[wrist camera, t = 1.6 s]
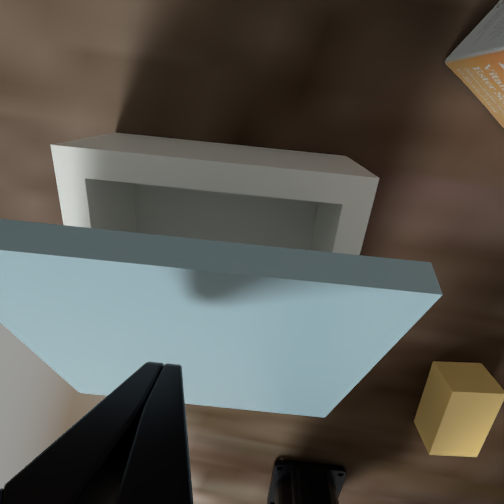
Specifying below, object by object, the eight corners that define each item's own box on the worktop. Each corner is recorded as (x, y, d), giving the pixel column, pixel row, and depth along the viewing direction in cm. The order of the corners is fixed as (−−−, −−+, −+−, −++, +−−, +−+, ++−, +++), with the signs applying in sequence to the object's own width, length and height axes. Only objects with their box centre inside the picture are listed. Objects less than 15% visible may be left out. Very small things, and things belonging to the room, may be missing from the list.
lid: (323, 397, 18) (324, 417, 17) (87, 373, 18) (79, 392, 17) (431, 262, 8) (442, 294, 8) (-63, 212, 8) (-92, 240, 8)
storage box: (310, 328, 23) (323, 396, 18) (129, 309, 23) (87, 372, 18) (346, 155, 18) (379, 178, 13) (114, 132, 18) (50, 144, 13)
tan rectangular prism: (455, 421, 27) (476, 457, 24) (412, 419, 27) (428, 454, 24) (479, 361, 24) (506, 393, 21) (431, 359, 24) (452, 391, 21)
